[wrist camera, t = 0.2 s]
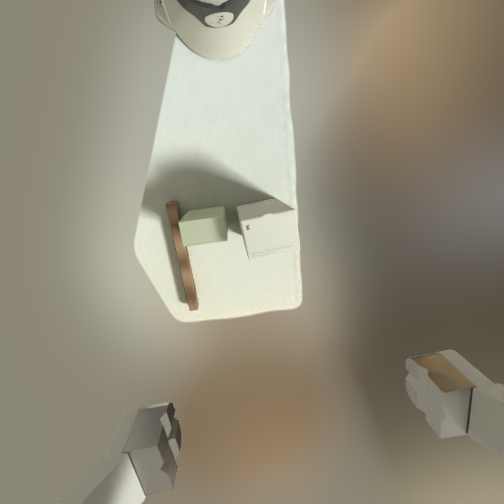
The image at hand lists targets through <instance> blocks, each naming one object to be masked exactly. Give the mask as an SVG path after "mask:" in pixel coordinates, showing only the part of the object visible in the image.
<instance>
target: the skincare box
mask: <svg viewBox="0 0 504 504" xmlns="http://www.w3.org/2000/svg"><path fill="white" fill-rule="evenodd" d="M237 213H238V219H239V225H240V229H241V233H242V237H243V240H244V244H245V248H246V251H247V255H248V258H249V260H254V259H259V258H263V257H268V256H273V255H277V254H282V253H286V252H291V251H295V250H299V249H300V242H299V234H298V227H297V220H296V213H295V209H293V208H292V207H290V206H288V205H287V204H285V203H283V202H281V201H280V200H278V199H276V198H273V199H268V200H263V201H259V202H254V203H249V204H245V205H240V206H237Z"/></svg>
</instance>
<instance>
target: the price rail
mask: <svg viewBox="0 0 504 504" xmlns="http://www.w3.org/2000/svg"><path fill="white" fill-rule="evenodd" d="M166 206H167V211H168V216H169V220H170V225H171V229H172V234H173V238H174V243H175V247H176V252H177V256H178V261H179V265H180V270H181V274H182V279H183V283H184V288H185V292H186V297H187V301H188V306H189V310H190V311H192V310H198V305H199V303H198V298H197V293H196V289H195V284H194V279H193V274H192V269H191V265H190V260H189V255H188V250H187V247H183V242H182V237H181V233H180V228H179V223H178V222H179V221H180V220H181V217H180V212H179V207H178V203H177V201H176V202H169V203H167V204H166Z"/></svg>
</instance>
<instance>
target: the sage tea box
mask: <svg viewBox="0 0 504 504" xmlns="http://www.w3.org/2000/svg"><path fill="white" fill-rule="evenodd" d="M178 223H179V228H180V233H181V237H182V242H183V247H187V246H194V245H201V244H208V243H215V242H222V241H227V231H228V224H227V218H226V212H225V206H218V207H210V208H203V209H196V210H189V211H188V212H187V213H186V214H185V215H184V216H183V218H182V219H181V220H180V221H179V222H178Z"/></svg>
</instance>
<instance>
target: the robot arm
mask: <svg viewBox="0 0 504 504" xmlns="http://www.w3.org/2000/svg"><path fill="white" fill-rule="evenodd" d="M161 2H162V4H163V6H161ZM274 6H275V0H155V13H156V17H157V19H158V20H159V21H160V22H161V23H162V24H164V25H165V26H167V27H169V28H170V29H172V30H174V31H175V32H176V33H177V35H178V36H179V37H180V38H181V40H182V41H183V42H184V43H185V44H186V45H187V46H188V47H189V48H190V49H191V50H192V51H193V52H195V53H196V54H198V55H200V56H202V57H205V58H208V59H212V60H224V59H229V58H232V57H234V56H236V55H238V54H240V53H241V52H242V51H244V50H245V49H246V48H247V47H248V46H249V44H250V43H251V42H252V40H253V38H254V37H255V35H256V33H257V30H258V28H259V25H260V23H261V22H262V20H263V19H264V18H265V17H266V16H267V15H268V14H269V13H270V12H271V11H272V9H273V8H274ZM406 368H407V370H408V371H409V372H410V373H409V375H408V376H407V377H406V388H407V392H408V395H409V397H410V399H411V400H412V402H413V403H414V405H415V406H416V407H417V408H418V409H420V410H422V411H423V412H425V413H426V421H427V422H428V423H429V425H430V426H431V427H432V429H433V430H434V431H435V433H436V434H437V435H438V436H439V438H440V439H441V438H448V437H454V436H460V435H467V434H468V436H469V437H470V438H472V439H473V440H475V441H476V442H478V443H480V444H481V445H483V446H484V447H485V448H487V449H489V450H490V451H492V452H493V453H495V454H496V455H498V456H499V457H501V458H502V459H504V385H502V384H500V383H499V384H494V383H493V382H491V381H490V380H489V379H488V378H487V377H485V376H484V375H483V374H482V373H481V372H479V371H478V370H477V369H476V368H475V367H473V366H472V365H471V364H470V363H469V362H468V361H466V360H465V359H464V358H463V357H462V356H460V355H459V354H458V353H457V352H456V351H453V350H447V351H442V352H437V353H432V354H427V355H422V356H417V357H411V358H408V359H407V361H406ZM174 414H175V408H174V405H173V403H171V402H168V403H161V404H155V405H149V406H142V407H139V408H132V409H127V410H126V411H125V412H124V413H123V415H122V417H121V420H120V422H119V424H118V427H117V429H116V431H115V434H114V436H113V438H112V441H111V443H110V445H109V448H108V450H107V452H106V455H105V457H102V458H99V459H98V460H97V461H96V462H95V463H94V464H93V465H92V466H91V467H90V468H89V469H88V470H87V471H86V472H85V473H84V474H83V475H82V476H81V477H80V478H79V479H78V480H77V481H76V482H75V483H74V484H73V485H72V486H71V487H70V488H69V489H68V490H67V491H66V492H65V493H64V494H63V495H62V496H61V497H60V498H59V499H58V500H57V501H56V502H55V503H54V504H142V502H143V501H144V499H145V496H146V495H150V494H155V493H159V492H163V491H168V490H173V488H174V482H175V477H176V472H177V464H176V461H175V458H176V457H177V455H178V454H179V453H180V448H181V427H180V423H179V420H177V419H176V418H174Z"/></svg>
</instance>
